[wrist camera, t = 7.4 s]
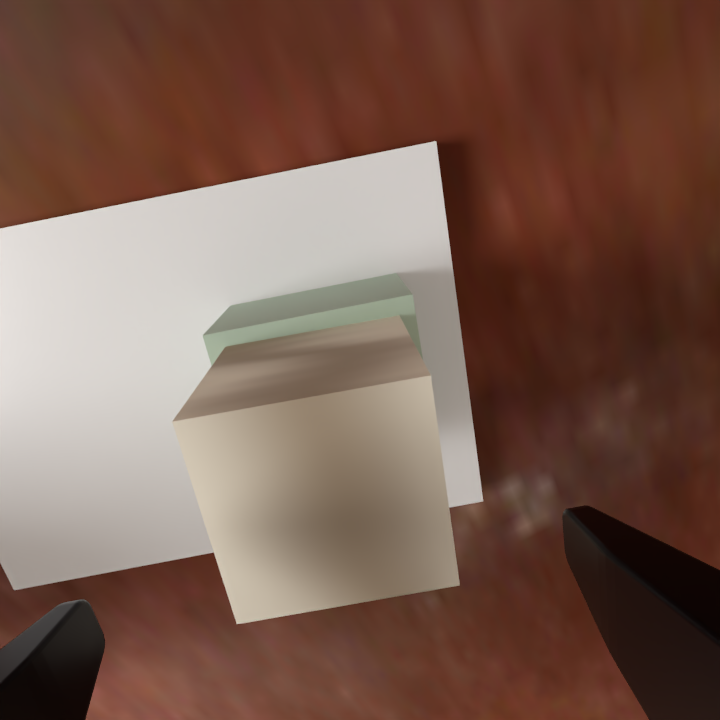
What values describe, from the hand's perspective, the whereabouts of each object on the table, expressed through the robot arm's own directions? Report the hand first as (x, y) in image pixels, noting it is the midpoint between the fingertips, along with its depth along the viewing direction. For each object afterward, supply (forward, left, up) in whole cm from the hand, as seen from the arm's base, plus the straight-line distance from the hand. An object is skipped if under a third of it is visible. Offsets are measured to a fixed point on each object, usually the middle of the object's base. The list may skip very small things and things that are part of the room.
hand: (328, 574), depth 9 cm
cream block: (0, 0, -7) cm, 7 cm away
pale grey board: (-5, 0, -12) cm, 13 cm away
